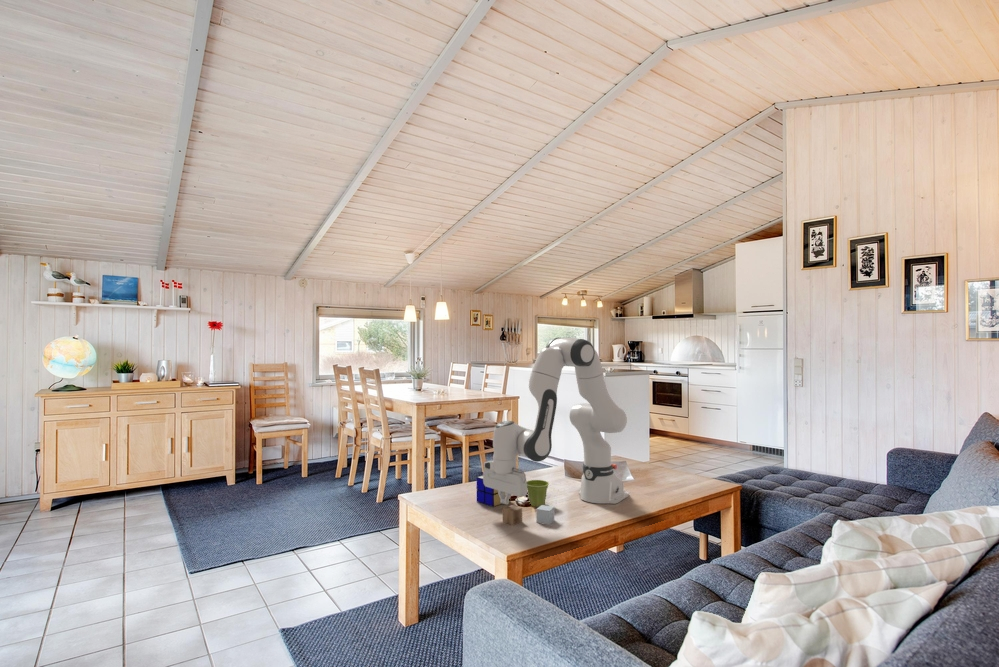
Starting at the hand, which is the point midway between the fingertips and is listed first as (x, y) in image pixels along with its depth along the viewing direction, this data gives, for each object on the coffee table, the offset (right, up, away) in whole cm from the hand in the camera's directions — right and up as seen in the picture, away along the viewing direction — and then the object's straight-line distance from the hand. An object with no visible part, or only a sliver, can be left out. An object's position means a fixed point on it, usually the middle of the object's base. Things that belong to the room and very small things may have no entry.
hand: (504, 503), depth 192 cm
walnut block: (+1, -3, -1) cm, 4 cm away
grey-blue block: (+15, -6, -3) cm, 16 cm away
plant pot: (+13, -6, +17) cm, 22 cm away
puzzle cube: (-4, -6, +21) cm, 22 cm away
